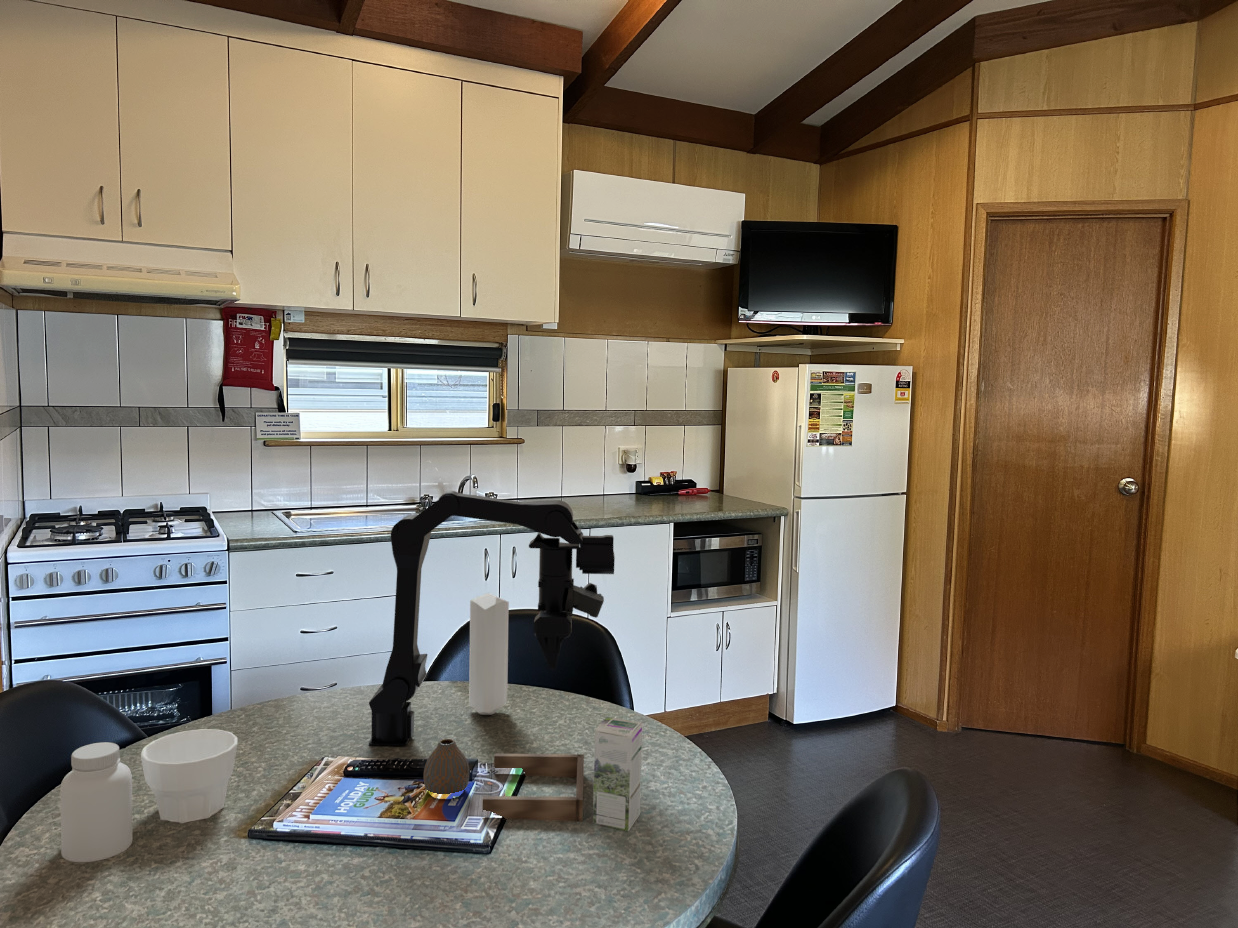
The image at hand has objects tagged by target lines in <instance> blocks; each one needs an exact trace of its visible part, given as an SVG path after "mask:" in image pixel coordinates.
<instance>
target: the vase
mask: <svg viewBox="0 0 1238 928" xmlns="http://www.w3.org/2000/svg"><path fill="white" fill-rule="evenodd" d="M469 780H470V765H469V762H468V758H467V756H466V755H465V754H464V752H462V750H461V749H460V748H459V746H458V745H457V743H456V741H455V740H454V739H452V738H443V739H440V740H439V741H438V744H437V746H436V748H435V749H434V750H433V751H432V752H431V754H430V755H429V756H428V758H427V759H426V763H425V765H424V768H423V783H424V787H425V790H426V789H427V790H428V791H430V792H433V793H437V794H450V793H455V792H459V791H462V790H464V789H465V788H466V787H467V788H468V785H469ZM467 788H466V789H467Z"/></svg>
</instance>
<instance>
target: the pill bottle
mask: <svg viewBox="0 0 1238 928" xmlns="http://www.w3.org/2000/svg"><path fill="white" fill-rule="evenodd" d="M70 758H71V759H70V760H71V761H70V762H71V768H72V769H71V771H70V772H68V773H67V774H66V775H65V776H64V778H63V779H62V781H61V784H60V790H59V791H60V794H59V795H60V798H59V799H60V843H61V844H60V846H61V848H60V849H61V850H60V851H61V853H60V854H61V857H62V858H63V859H65V860H66V861H69V862H73V863H91V862H96V861H97V862H98V861H101V860H105V859H109V858H111V857H112V858H113V857H114V856H117V855H119V854H122V852H124V851H126V850H127V849H128V848H129V847H131V845H132V843H133V775H132V772H131V769H130V768H129V766H128V765H126V764H125V763H122V762H121V758H120V746H119V745H118V744H116V743H115V742H106V741H105V742H96V743H90V744H86V745H84V746H80V747H79V748H76V749H75V750H74V751H73V752H72V754H71V756H70Z"/></svg>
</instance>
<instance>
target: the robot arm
mask: <svg viewBox="0 0 1238 928" xmlns="http://www.w3.org/2000/svg"><path fill="white" fill-rule="evenodd" d="M450 517H461V518H469V519H474V520H475V519H476V520H482V521H489V522H497V523H504V524H509V525H511V524H512V525H516V526H520V527H524V528H526V529H528V530H530V531H533V532H536V533H537V534H536V536H535V537H534V538H533V539H532V540H530V542H529V544H528V548H529V549H539V561H538V563H539V564H538V565H539V569H538V570H539V571H538V573H539V574H538V581H537V584H538V585H537V587H538V602H537V603H538V604H537V611H539V613H538V614H537V615H536V616H535V617H534V620H533V634H534V636H535V638H536V640H537V642H538V644H539V647H540V649H541V651H542V653H543V656H544V658H545V662H546V663H547V665H548V669H549V670H556V669H557V664H558V660H559V656H560V651H561V647H562V643H563V641H564V640H566V639H567V638H569V637H570V636H571V634H572V622H573V621H572V620H573V618H572V617H573V613H574V612H573V611H574V610H577V611H579V612H583V613H585V614H588V615H589V617H592V618H598V617H599V614H600V612H601V609H602V607H603V604H604V602H605V598H604V597H605V596H603V595H602V593H598V587H597V584H594V583H592V582H589V583H587V584H586V585H584V587H583V586H578V585H575V583H574V581H575V578H574V577H573V550H576V551H575V552H576V553H575V568H576V569H578V570H579V571H582V572H581V573H582V575H586V574H587V575H614V574H615V558H616V557H615V552H614V535H613V534H605V535H584V533H583V532H582V529H581V528H579V526H578V525H577V524H576V522H575V521H574V512H573V508H572V507H571V506H570V505H569V504H568V503H567V502H566V501H564V500H560V499H559V500H558V499H549V500H534V501H518V500H509V499H503V498H497V497H496V498H495V497H489V496H481V495H475V494H467V493H462V492H461V493H460V492H458V491H455V490H449V491H446V492H445V493H443V494H442V495H441V496H440V497H439V498H438V499H437V500H436V501H435V502H433V503H432V504H431V505H429V506H428V507H427V508H425V509H424V510H423V511H421V512H420V513H418V514H417V513H413V514H409V515H407V516H404V517H403V518H401V519H400V520H398V521H397V522H396V523H395V524H394V525H393V526H392V528H391V530H390V531H391V532H390V544H391V549H392V550H391V552H392V557H393V560H394V562H395V567H396V582H395V583H396V584H395V600H394V601H395V603H394V604H395V605H394V619H393V620H394V622H393V638H392V649H391V654H390V656H389V658H388V662H387V666H386V669H385V672H384V677H383V682H382V683H381V685H380V687H378V689H377V691H375V693H374V694H373V696H372V697H371V699H370V700H369V701H368V706H369V707H370V710H371V738H370V739H369V741H368V746H371V747H373V746H375V747H376V746H378V747H383V746H384V747H385V746H387V747H406V746H407V745H408V743H409V741H410V740H411V739H412V737H413V735H414V733H415V711H414V710H412V702H411V701H410V700H411V699H412V698H414V696H415V693H416V692H417V690H418V689H419V688H420V687H421V686H422V684H423V682H424V680H425V678H426V677H427V675H428V673H427V670H426V663H427V660H428V653H420V650H419V647H418V646H419V645H418V636H419V635H418V634H419V618H420V603H421V602H420V601H421V599H420V598H421V585H422V584H421V583H422V567H423V564H424V561H425V558H426V555H427V552H428V549H429V544H430V541H431V535H432V531H433V530H435V529H436V528H437V527H438V526H440V525H441V524H442V523H444V522H445V521H446V520H448V519H449V518H450ZM543 535H544V536H545V535H546V536H547V537H544V536H543ZM548 536H549V537H548ZM560 539H563V540H564V541H565V542H561V540H560Z"/></svg>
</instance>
